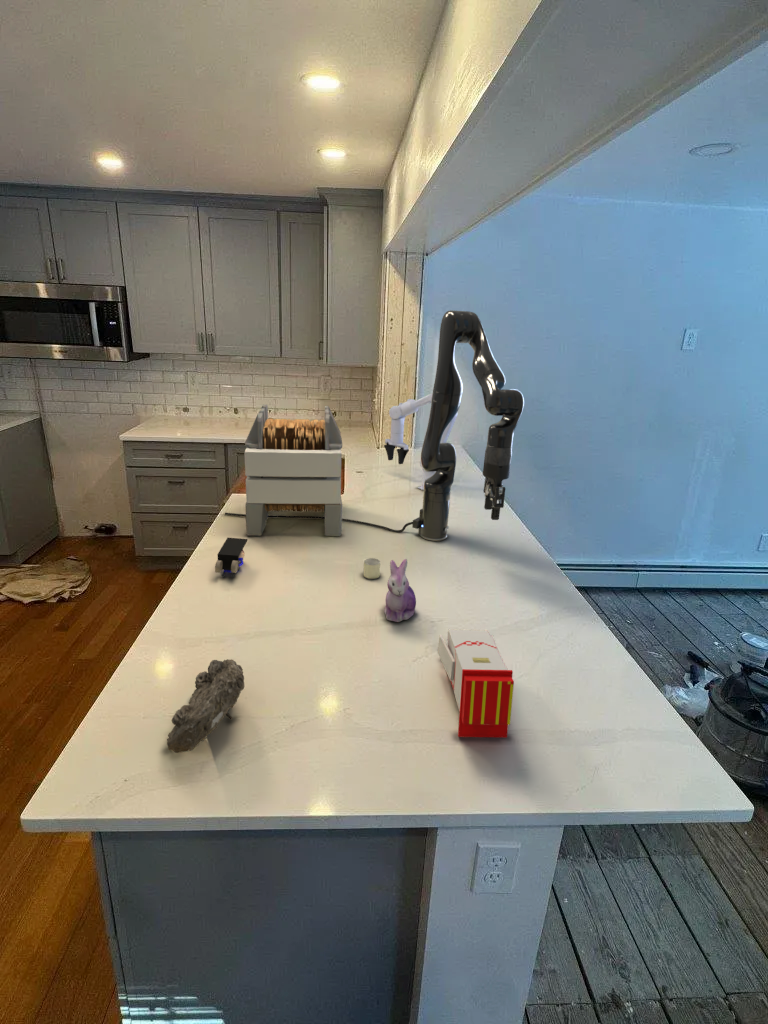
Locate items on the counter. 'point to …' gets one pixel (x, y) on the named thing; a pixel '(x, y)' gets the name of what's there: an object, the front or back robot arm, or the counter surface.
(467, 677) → the toy
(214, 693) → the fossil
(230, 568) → the figurine character
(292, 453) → the grey crate
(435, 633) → the counter surface
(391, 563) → the figurine
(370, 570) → the can
